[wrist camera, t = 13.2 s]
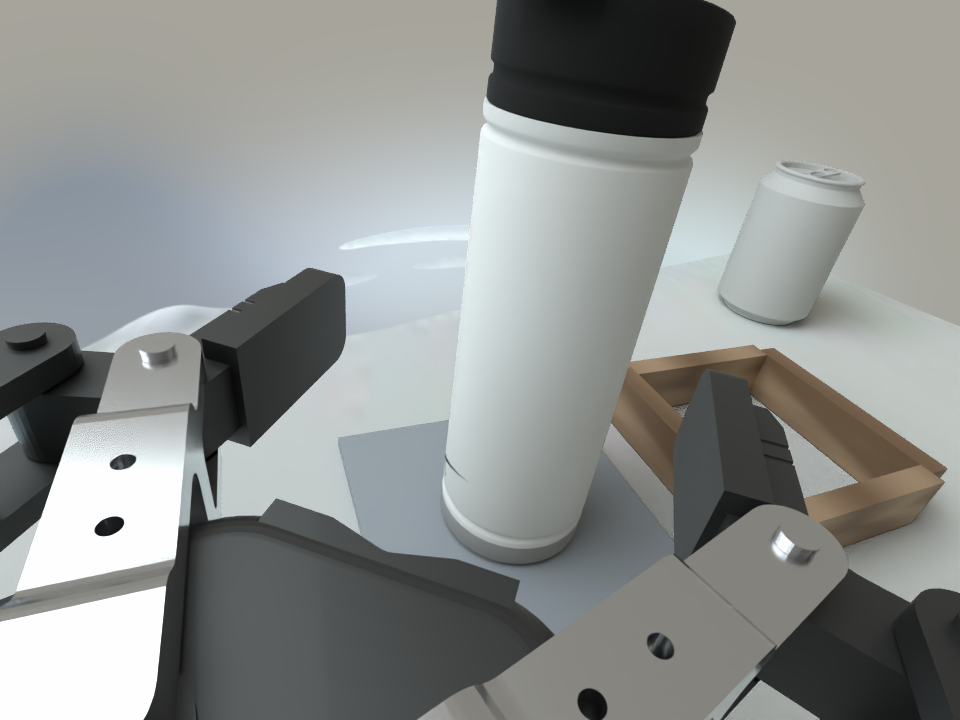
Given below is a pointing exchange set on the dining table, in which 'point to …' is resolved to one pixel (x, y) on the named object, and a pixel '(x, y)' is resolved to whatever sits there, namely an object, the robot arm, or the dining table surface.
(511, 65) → the travel mug
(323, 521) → the robot arm
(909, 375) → the dining table surface
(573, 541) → the rubber mat
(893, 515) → the frame
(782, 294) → the can
